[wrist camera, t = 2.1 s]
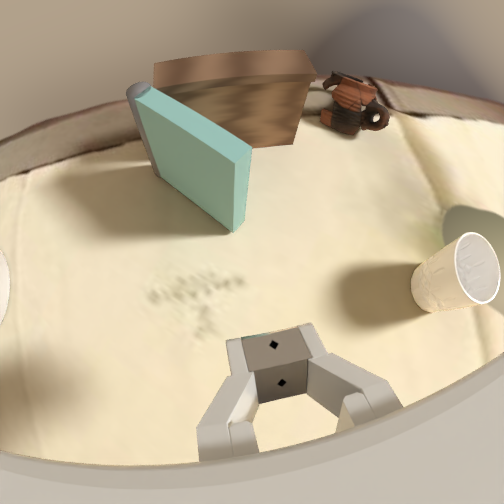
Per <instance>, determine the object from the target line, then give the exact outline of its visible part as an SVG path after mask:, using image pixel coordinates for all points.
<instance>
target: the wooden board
mask: <svg viewBox="0 0 504 504" xmlns="http://www.w3.org/2000/svg"><path fill="white" fill-rule="evenodd" d="M316 76H317V73H316V71H315V69H314V67H313V65H312V64H311V62H310V60H309V59H308V57H307V55H306V53H305V51H304V50H265V51H264V50H263V51H244V52H230V53H220V54H211V55H202V56H195V57H188V58H181V59H175V60H169V61H164V62H159V63H155V64H154V85H153V86H154V87H153V88H155V89H157V90H158V91H160V92H162V93H164V94H166V95H167V96H169V97H171V98H173V99H175V100H176V101H178V102H180V103H182V104H183V105H185V106H187V107H188V108H190V109H192V110H194V111H195V112H197V113H199V114H200V115H202V116H204V117H205V118H207V119H209V120H210V121H212V122H214V123H215V124H217V125H218V126H220V127H222V128H223V129H225V130H226V131H228V132H230V133H231V134H233V135H234V136H236V137H237V138H239V139H241V140H242V141H244V142H245V143H247V144H248V145H250V146H251V147H252V148H260V147H269V146H279V145H290V144H293V142H294V138H295V135H296V131H297V128H298V124H299V121H300V117H301V114H302V111H303V107H304V104H305V100H306V97H307V93H308V90H309V86H310V83H311V82H315V79H316Z"/></svg>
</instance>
